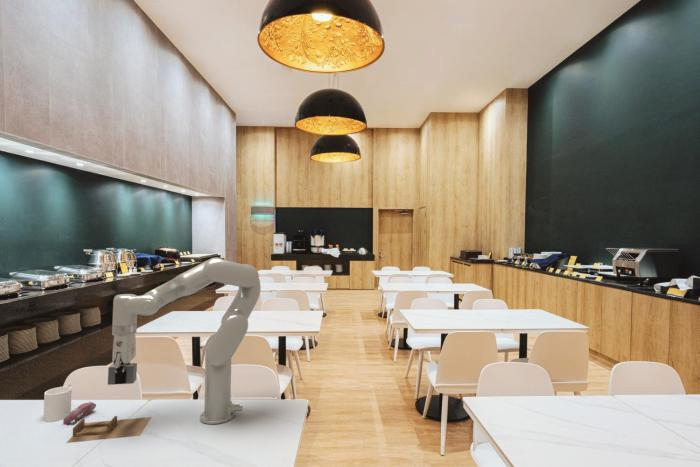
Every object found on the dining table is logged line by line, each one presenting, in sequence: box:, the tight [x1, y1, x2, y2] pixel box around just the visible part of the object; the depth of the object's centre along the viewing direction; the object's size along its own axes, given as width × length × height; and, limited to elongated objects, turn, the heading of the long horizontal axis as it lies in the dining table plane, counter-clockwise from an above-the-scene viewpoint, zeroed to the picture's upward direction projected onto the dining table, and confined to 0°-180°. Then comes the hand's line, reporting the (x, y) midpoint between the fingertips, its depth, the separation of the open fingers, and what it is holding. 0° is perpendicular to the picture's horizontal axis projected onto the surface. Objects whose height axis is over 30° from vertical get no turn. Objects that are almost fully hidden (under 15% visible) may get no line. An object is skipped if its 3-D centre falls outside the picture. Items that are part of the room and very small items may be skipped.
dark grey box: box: [107, 362, 138, 386], centre depth 135 cm, size 8×4×6 cm, turn 103°
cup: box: [43, 383, 73, 423], centre depth 147 cm, size 8×12×10 cm
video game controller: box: [63, 401, 97, 425], centre depth 143 cm, size 10×5×7 cm, turn 169°
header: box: [65, 415, 152, 444], centre depth 134 cm, size 22×14×4 cm, turn 103°
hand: (122, 380), depth 135 cm, fingers closed on dark grey box, 3 cm apart
